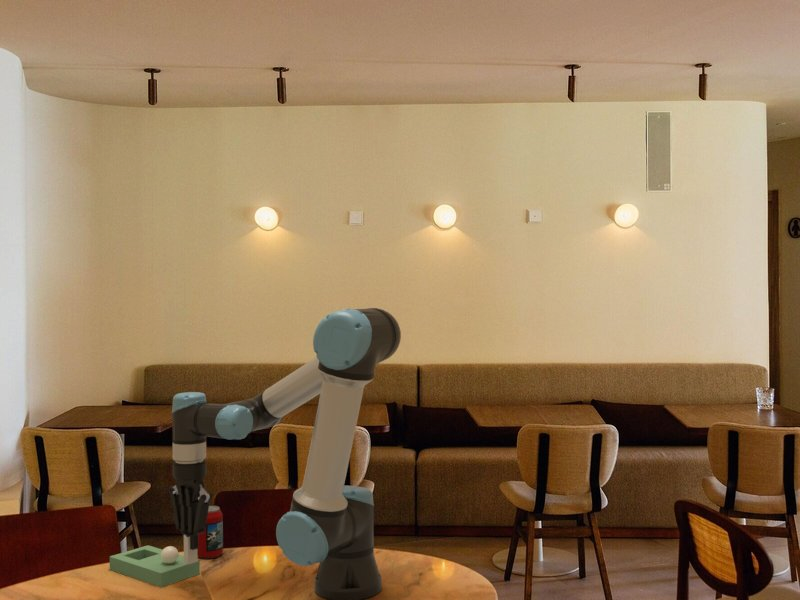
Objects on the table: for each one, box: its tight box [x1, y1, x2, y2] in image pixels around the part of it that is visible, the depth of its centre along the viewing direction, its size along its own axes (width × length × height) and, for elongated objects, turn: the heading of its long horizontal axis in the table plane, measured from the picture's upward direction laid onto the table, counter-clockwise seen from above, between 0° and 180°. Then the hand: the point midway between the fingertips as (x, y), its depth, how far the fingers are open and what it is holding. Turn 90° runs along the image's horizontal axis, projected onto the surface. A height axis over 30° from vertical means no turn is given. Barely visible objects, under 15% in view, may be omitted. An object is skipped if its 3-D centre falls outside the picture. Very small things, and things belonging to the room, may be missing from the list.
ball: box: [161, 545, 180, 564], centre depth 200 cm, size 4×4×4 cm
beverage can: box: [197, 505, 224, 560], centre depth 216 cm, size 7×7×12 cm
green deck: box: [109, 545, 201, 588], centre depth 204 cm, size 20×11×3 cm, turn 53°
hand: (190, 562), depth 196 cm, fingers closed
